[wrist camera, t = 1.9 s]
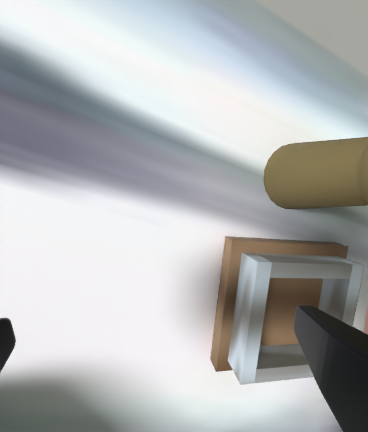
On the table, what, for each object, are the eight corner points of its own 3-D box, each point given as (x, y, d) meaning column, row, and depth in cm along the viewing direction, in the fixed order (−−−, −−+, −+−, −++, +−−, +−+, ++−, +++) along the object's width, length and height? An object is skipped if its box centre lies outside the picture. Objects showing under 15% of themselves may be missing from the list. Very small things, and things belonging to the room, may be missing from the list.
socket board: (315, 350, 24) (350, 382, 20) (210, 358, 21) (227, 397, 17) (334, 242, 23) (375, 254, 19) (225, 236, 20) (247, 248, 16)
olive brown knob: (265, 213, 20) (407, 242, 10) (261, 146, 20) (412, 97, 9) (321, 204, 22) (501, 220, 11) (319, 140, 21) (514, 91, 10)
